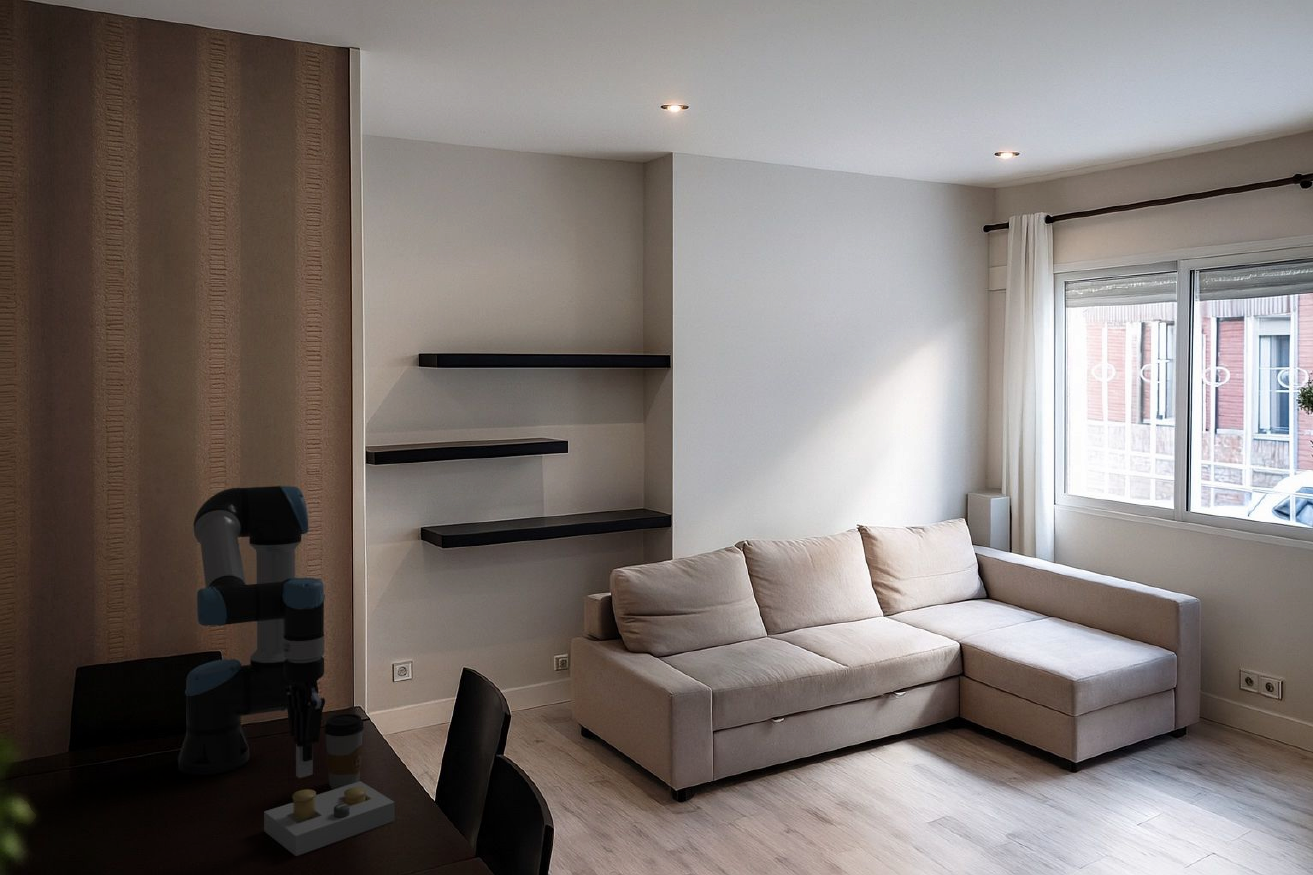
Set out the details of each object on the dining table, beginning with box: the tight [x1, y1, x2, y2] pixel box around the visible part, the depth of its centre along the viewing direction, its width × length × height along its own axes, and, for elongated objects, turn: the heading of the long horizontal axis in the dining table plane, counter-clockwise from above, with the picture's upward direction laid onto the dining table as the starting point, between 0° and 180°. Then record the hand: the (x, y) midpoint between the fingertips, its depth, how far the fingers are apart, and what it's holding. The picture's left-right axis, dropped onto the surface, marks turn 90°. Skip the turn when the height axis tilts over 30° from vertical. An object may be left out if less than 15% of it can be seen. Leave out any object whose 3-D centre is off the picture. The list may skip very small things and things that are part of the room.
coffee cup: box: [324, 713, 364, 790], centre depth 211 cm, size 8×8×15 cm
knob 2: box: [344, 787, 366, 806], centre depth 196 cm, size 4×4×4 cm
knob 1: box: [291, 789, 317, 819], centre depth 188 cm, size 4×4×4 cm
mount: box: [263, 780, 395, 857], centre depth 192 cm, size 14×21×6 cm, turn 136°
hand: (304, 774), depth 187 cm, fingers closed
